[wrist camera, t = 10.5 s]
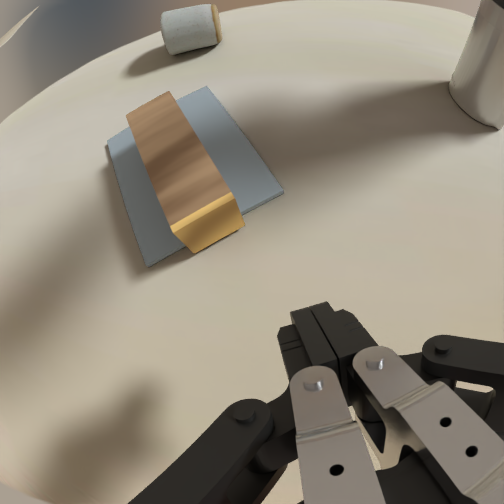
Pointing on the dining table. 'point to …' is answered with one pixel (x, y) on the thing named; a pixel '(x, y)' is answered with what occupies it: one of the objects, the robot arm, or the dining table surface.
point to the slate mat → (223, 156)
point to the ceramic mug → (190, 28)
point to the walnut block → (183, 174)
